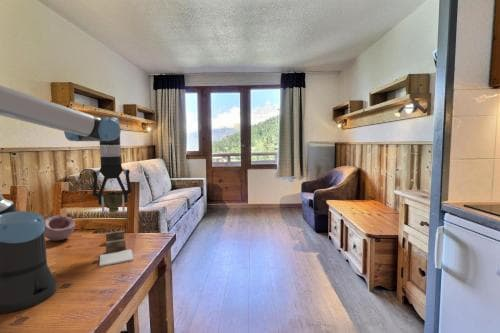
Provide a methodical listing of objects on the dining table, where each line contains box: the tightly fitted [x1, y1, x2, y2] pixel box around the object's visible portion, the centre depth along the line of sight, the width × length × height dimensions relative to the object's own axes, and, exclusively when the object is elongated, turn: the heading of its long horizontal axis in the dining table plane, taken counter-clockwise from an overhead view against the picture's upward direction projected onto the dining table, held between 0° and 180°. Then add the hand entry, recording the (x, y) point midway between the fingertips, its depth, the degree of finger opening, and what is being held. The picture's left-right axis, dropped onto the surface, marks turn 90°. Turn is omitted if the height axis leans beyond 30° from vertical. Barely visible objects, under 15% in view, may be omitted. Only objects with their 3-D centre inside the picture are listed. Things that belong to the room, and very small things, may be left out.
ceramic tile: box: [99, 249, 135, 267], centre depth 101 cm, size 10×11×1 cm
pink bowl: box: [43, 214, 76, 242], centre depth 121 cm, size 12×12×11 cm
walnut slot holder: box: [105, 229, 127, 254], centre depth 114 cm, size 7×14×4 cm, turn 28°
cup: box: [102, 191, 124, 213], centre depth 112 cm, size 8×7×8 cm
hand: (113, 211), depth 112 cm, fingers closed on cup, 7 cm apart
